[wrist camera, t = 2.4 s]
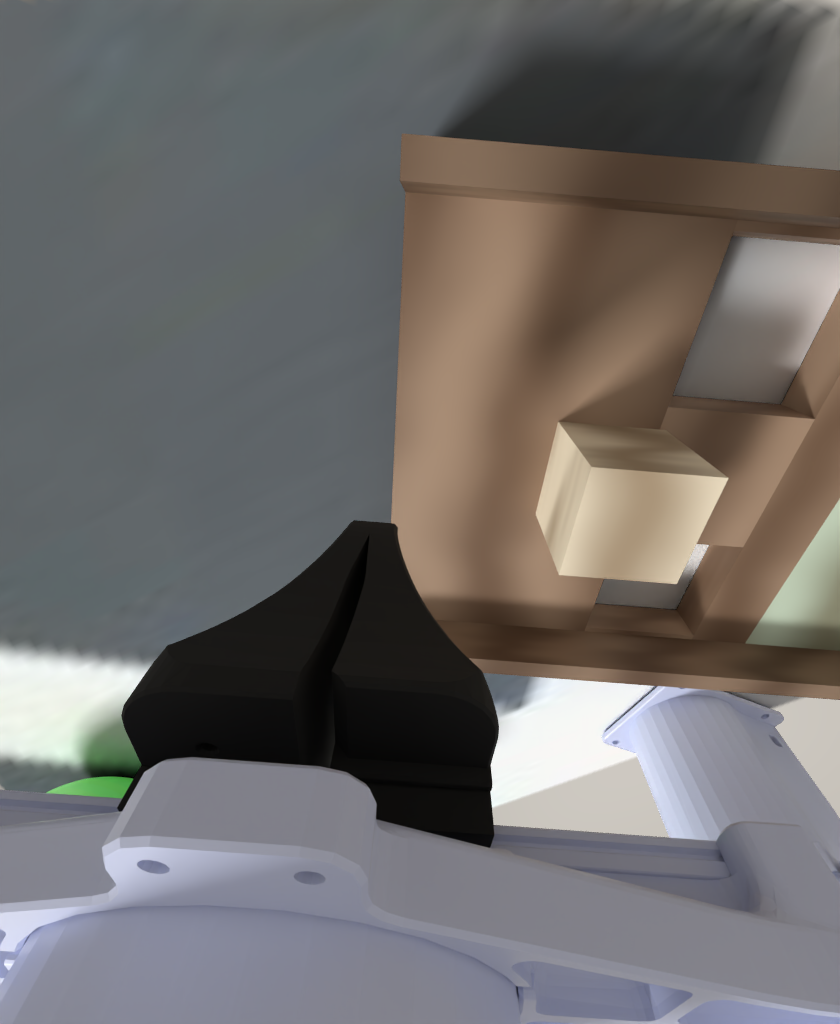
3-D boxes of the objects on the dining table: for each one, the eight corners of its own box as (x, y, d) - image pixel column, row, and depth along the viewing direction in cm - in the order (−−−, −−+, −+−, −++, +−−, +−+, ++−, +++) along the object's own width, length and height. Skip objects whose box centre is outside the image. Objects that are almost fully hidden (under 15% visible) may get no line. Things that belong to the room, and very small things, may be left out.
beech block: (665, 430, 18) (728, 478, 14) (630, 521, 20) (676, 584, 16) (558, 421, 18) (591, 467, 14) (535, 513, 20) (558, 574, 16)
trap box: (1184, 229, 16) (1470, 220, 11) (847, 639, 26) (927, 714, 22) (410, 164, 15) (400, 128, 11) (389, 604, 26) (380, 672, 22)
